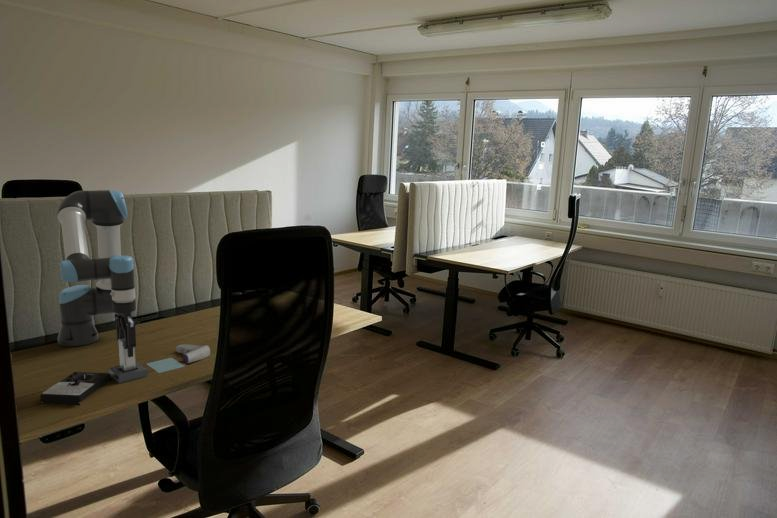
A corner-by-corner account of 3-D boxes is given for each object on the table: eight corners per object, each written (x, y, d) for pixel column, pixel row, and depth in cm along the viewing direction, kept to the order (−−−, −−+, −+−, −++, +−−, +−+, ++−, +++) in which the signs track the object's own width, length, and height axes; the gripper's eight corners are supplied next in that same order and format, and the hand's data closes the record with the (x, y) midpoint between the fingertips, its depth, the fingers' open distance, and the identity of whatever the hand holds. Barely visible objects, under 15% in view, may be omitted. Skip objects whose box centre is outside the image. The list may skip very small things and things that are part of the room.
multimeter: (111, 382, 199) (110, 369, 198) (80, 406, 180) (78, 392, 179) (75, 380, 200) (74, 367, 199) (40, 404, 181) (38, 390, 180)
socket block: (109, 377, 202) (108, 368, 202) (137, 370, 209) (136, 361, 209) (119, 385, 195) (118, 376, 195) (148, 378, 202) (147, 369, 202)
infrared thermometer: (184, 351, 233) (212, 356, 226) (161, 361, 222) (189, 365, 216) (183, 341, 232) (211, 345, 226) (160, 350, 221) (188, 354, 215)
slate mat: (145, 366, 213) (145, 363, 213) (171, 359, 220) (171, 357, 220) (159, 375, 205) (159, 373, 205) (185, 368, 212) (185, 366, 212)
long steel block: (120, 373, 202) (118, 339, 200) (131, 370, 205) (129, 336, 202) (124, 376, 199) (122, 342, 197) (136, 373, 202) (134, 339, 200)
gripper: (103, 296, 200) (108, 358, 205) (121, 307, 188) (125, 372, 193) (125, 293, 205) (129, 353, 210) (144, 303, 194) (147, 367, 198)
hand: (127, 362), depth 201 cm, fingers closed on long steel block, 4 cm apart
